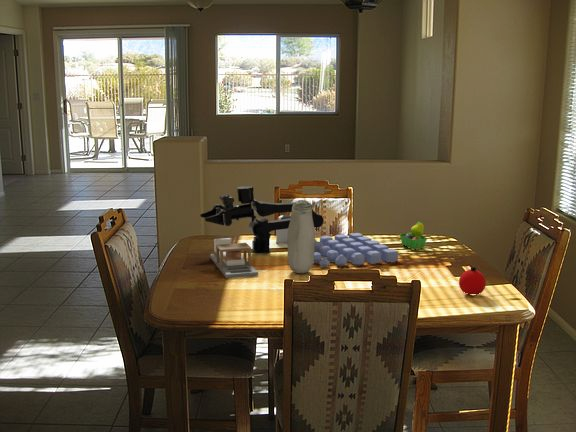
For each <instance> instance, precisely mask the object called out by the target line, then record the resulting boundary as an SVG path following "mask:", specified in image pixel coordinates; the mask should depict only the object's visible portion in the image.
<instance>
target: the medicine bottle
mask: <svg viewBox="0 0 576 432" xmlns="http://www.w3.org/2000/svg"><path fill="white" fill-rule="evenodd" d="M288 218H291V215H289V214H284V215H283V214H282V215H280V216H278V218H277V220H281V219H288ZM275 231H276V232H275V235H276V236H275V237H276V238H275V239H276V240H275V241H276V244H287V245H288V229H281V230H275Z"/></svg>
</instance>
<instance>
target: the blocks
mask: <svg viewBox="0 0 576 432" xmlns="http://www.w3.org/2000/svg"><path fill="white" fill-rule="evenodd" d="M383 260H384V261H383ZM348 261H350V263H351V264H352V265H354V266H363V265H364V264H365V262H367V263H368V264H370V263H371V264H370V265H376V264H375V263H380V264H381V263H382V261H383V262H385V261H386V262H385V263H387V262H391V263H396V262H395V261H399V251H398V250H396V249H394V248H389V246H387V245H385V244H382V243H380V242H379V241H377V240H373V239H372V238H371V237H369V236H364V235H363V234H362V233H360V232H355V233H354V232H353V233H352V232H351V233H349V234H348V235H345V234H336V235H334V239H333V238H332V237H331V236H329V235H324V236H320V237H319V241H317V239H316V238H315V247H314V263H313V264H319V265H320V266H321V267H322V269H323V268H326V267H327V266H328V265H329V264H330V263H335V264H336V265H337V266H338V267H345V265H346V264H347V263H348Z"/></svg>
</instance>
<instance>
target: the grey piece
mask: <svg viewBox="0 0 576 432" xmlns="http://www.w3.org/2000/svg"><path fill="white" fill-rule="evenodd" d="M219 251H220V257H219ZM230 251H241V252H242V251H243V255H242V254H241V259H244V262H245V265H235V266H227V265H226V264H225V263H224V262H223V252H230ZM209 257H210V259H211V260H212V262H213V263H214V264H215V266H216V267H217V268H218V270H219V271H220V273H222V275H223V276H224V277H225V279H238V278H248V277H259V271H257V269H256V268H255V267H254V266H253V264H252V246H250V245H249V244H248V243H247V242H237V243H234V242H233V243H231V244H218V245H216V252H215V253H210V256H209Z"/></svg>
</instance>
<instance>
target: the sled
mask: <svg viewBox="0 0 576 432" xmlns="http://www.w3.org/2000/svg"><path fill="white" fill-rule="evenodd" d="M213 242H214V243H213V249H214V250H213V251H214V252H215V253H216V245H218V244H232V237H226V238H214V239H213ZM219 257H220V251H219ZM223 262H224V263H225V264H226V265H227V266H235V265H245V262H244V259H238V260H226V252H223Z"/></svg>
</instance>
